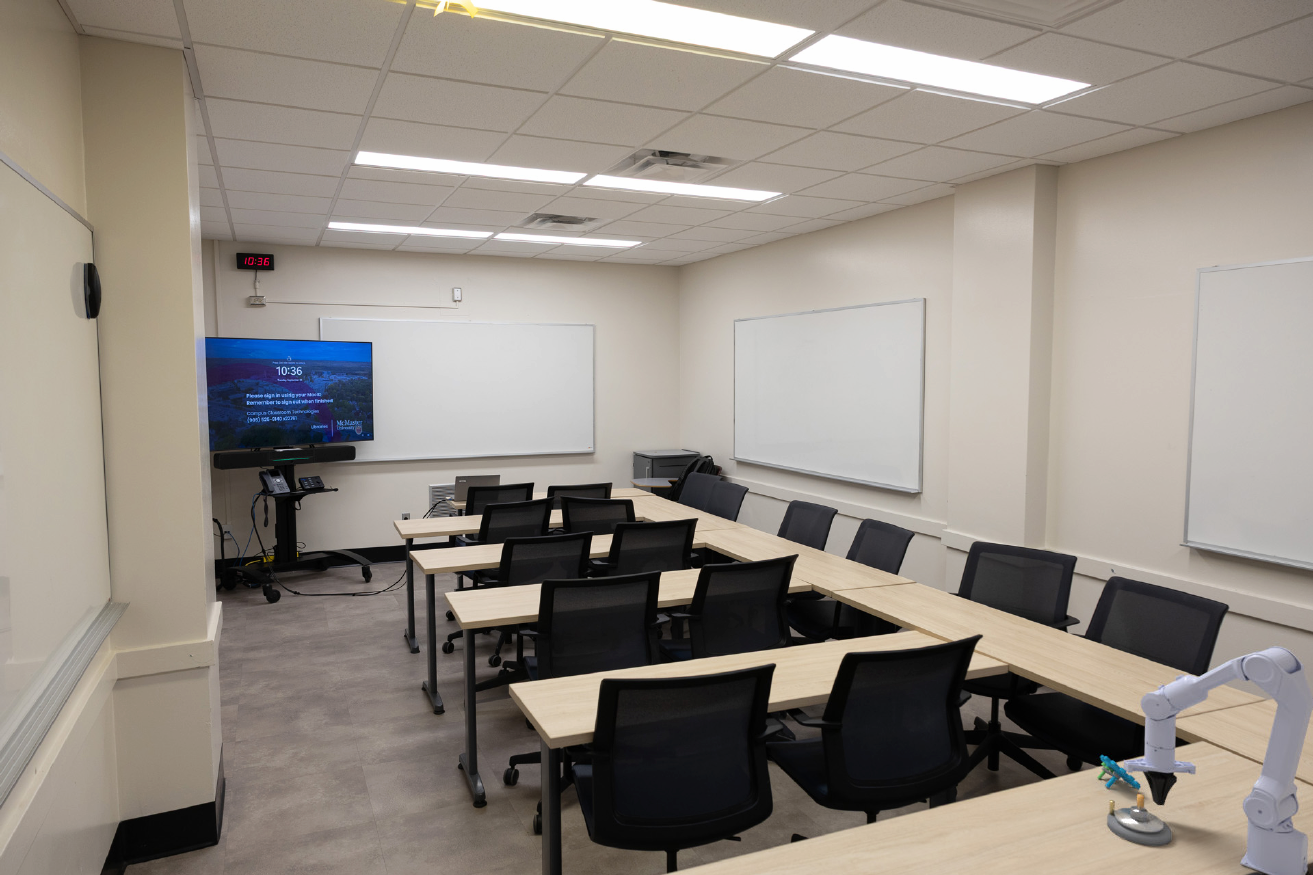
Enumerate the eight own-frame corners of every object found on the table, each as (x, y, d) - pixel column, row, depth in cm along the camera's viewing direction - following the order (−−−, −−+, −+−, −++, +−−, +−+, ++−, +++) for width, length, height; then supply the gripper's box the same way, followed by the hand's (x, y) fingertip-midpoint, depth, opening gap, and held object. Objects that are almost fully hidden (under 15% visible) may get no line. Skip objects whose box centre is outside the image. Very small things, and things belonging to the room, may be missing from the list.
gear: (1151, 790, 185) (1119, 760, 186) (1135, 809, 185) (1103, 778, 186) (1123, 775, 196) (1093, 746, 197) (1107, 792, 196) (1078, 763, 197)
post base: (1178, 831, 171) (1179, 811, 170) (1160, 852, 163) (1161, 831, 163) (1118, 810, 180) (1118, 791, 180) (1098, 829, 172) (1099, 809, 172)
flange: (1162, 837, 165) (1162, 821, 165) (1113, 824, 170) (1113, 808, 170) (1164, 815, 174) (1164, 799, 174) (1117, 803, 179) (1118, 788, 179)
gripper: (1182, 737, 179) (1181, 794, 179) (1117, 735, 180) (1116, 793, 180) (1202, 750, 172) (1200, 810, 172) (1133, 749, 173) (1132, 808, 173)
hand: (1158, 802), depth 176 cm, fingers closed
